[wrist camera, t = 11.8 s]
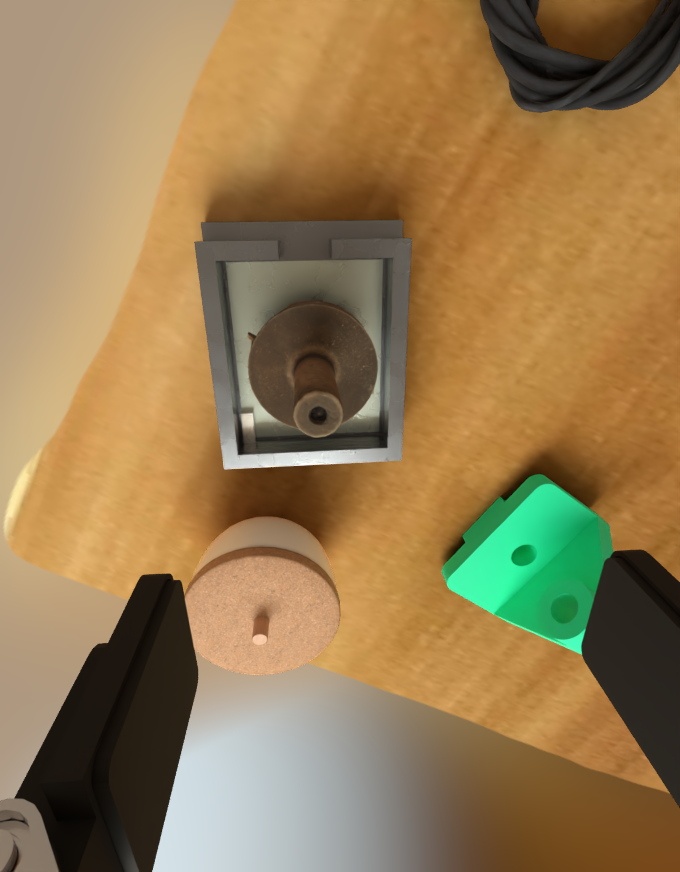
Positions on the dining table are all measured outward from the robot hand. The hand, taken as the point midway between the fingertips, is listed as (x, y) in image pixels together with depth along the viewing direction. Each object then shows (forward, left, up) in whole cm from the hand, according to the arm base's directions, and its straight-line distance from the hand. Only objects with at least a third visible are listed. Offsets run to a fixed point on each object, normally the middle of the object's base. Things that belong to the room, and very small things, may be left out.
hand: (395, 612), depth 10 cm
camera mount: (-15, +16, -24) cm, 33 cm away
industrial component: (+1, 0, -23) cm, 23 cm away
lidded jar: (+5, +16, -24) cm, 29 cm away
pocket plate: (+1, 0, -24) cm, 24 cm away
